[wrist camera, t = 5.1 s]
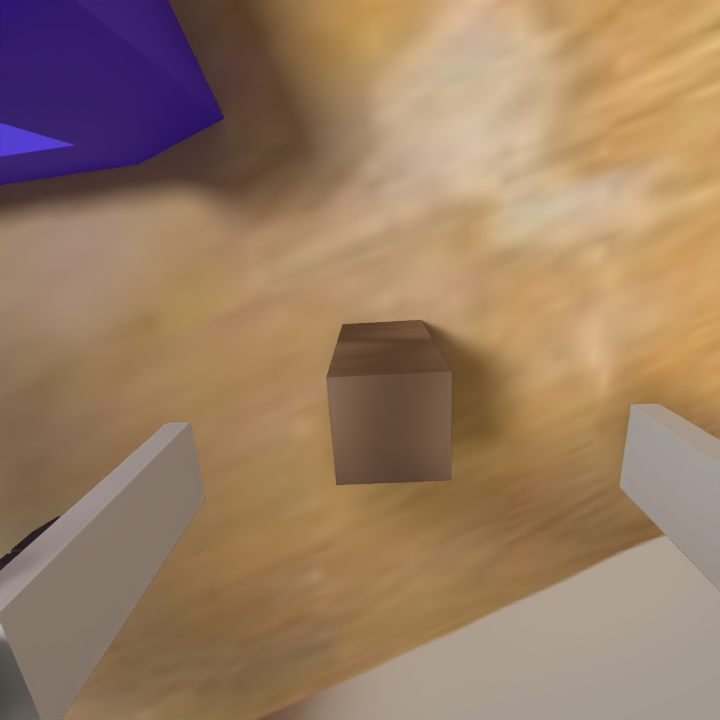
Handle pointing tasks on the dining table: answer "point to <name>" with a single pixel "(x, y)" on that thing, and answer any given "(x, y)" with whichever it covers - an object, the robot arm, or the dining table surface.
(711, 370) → the dining table surface
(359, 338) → the walnut post
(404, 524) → the dining table surface
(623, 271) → the dining table surface
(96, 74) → the bracket
